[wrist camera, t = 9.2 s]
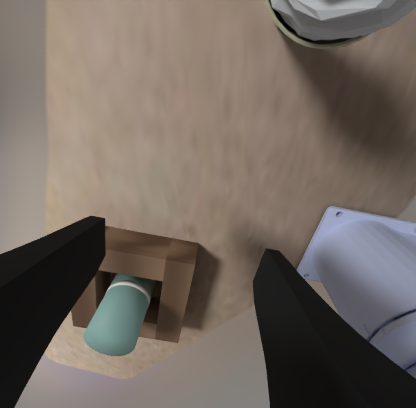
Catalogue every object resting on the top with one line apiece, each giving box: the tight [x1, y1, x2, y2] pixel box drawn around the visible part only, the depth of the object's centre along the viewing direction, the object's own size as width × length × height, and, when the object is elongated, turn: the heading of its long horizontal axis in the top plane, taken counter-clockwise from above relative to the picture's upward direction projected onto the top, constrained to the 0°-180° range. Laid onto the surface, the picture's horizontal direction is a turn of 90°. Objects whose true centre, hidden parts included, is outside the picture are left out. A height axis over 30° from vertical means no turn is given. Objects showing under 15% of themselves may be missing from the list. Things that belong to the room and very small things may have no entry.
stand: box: [71, 226, 198, 343], centre depth 22 cm, size 11×11×3 cm
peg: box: [84, 273, 157, 356], centre depth 20 cm, size 4×4×7 cm
